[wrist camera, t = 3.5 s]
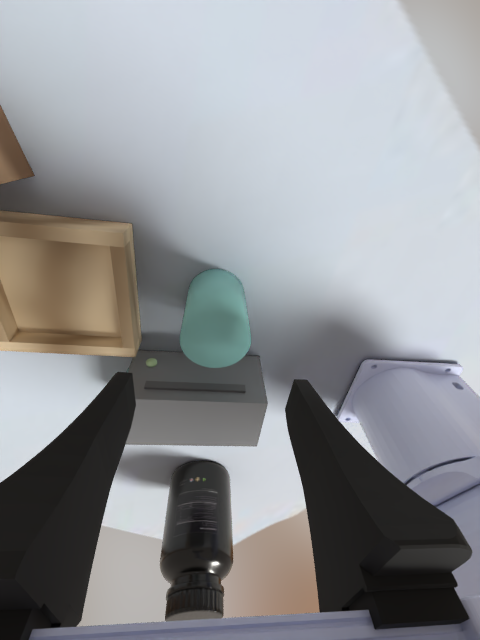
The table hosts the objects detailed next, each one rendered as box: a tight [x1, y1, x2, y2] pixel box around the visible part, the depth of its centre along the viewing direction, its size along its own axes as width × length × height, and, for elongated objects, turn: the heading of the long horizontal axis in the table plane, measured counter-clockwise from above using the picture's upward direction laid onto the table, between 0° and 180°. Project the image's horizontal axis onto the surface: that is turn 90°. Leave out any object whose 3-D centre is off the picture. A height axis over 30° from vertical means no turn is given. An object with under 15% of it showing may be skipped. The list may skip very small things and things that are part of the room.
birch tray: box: [0, 210, 142, 357], centre depth 19 cm, size 9×9×2 cm
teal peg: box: [180, 269, 251, 368], centre depth 18 cm, size 4×4×6 cm
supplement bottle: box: [160, 461, 233, 621], centre depth 29 cm, size 7×7×12 cm
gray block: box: [126, 350, 268, 446], centre depth 23 cm, size 10×5×5 cm, turn 83°
